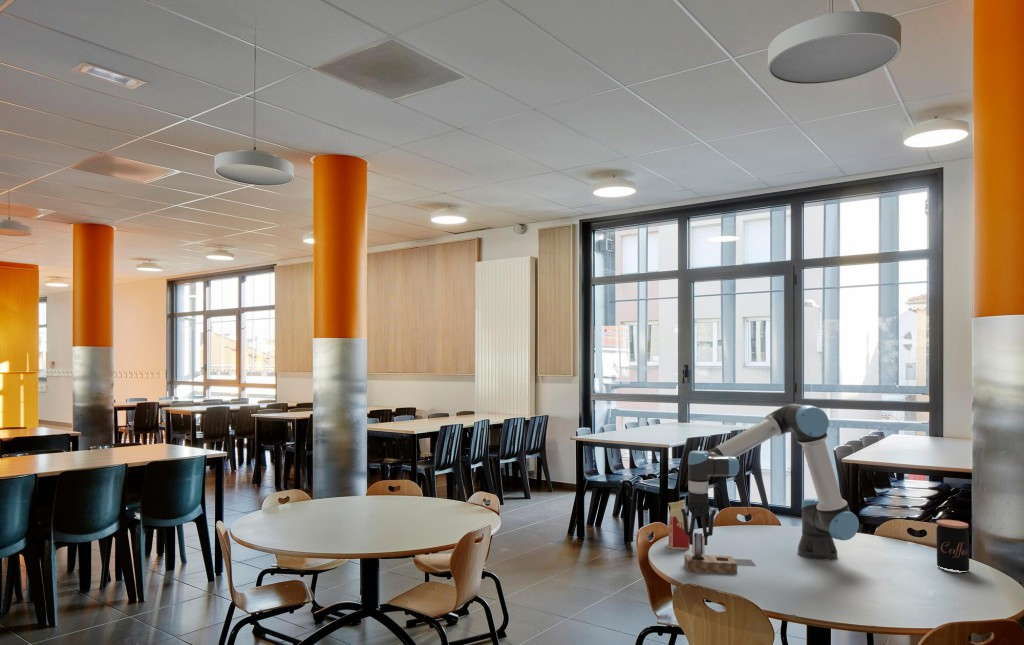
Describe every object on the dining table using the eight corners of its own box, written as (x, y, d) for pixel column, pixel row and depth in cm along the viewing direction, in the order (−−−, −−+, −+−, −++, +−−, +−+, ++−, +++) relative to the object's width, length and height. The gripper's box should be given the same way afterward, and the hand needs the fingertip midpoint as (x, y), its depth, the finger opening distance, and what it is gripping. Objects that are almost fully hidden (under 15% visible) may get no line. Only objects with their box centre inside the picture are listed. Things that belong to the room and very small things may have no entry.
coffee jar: (938, 570, 268) (937, 523, 269) (936, 563, 277) (935, 518, 278) (971, 575, 263) (970, 527, 264) (967, 568, 272) (966, 521, 273)
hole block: (731, 566, 270) (731, 556, 270) (737, 574, 260) (737, 563, 260) (684, 564, 272) (684, 554, 272) (688, 572, 262) (688, 561, 262)
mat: (751, 560, 278) (751, 559, 278) (756, 567, 269) (756, 566, 269) (728, 559, 279) (728, 558, 279) (732, 566, 270) (732, 565, 270)
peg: (701, 564, 267) (701, 532, 268) (702, 566, 264) (702, 534, 265) (693, 563, 268) (693, 532, 268) (694, 566, 265) (694, 534, 265)
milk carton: (687, 544, 301) (687, 497, 302) (690, 550, 292) (690, 502, 293) (666, 543, 302) (666, 497, 303) (668, 549, 293) (669, 501, 294)
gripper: (717, 490, 270) (717, 551, 269) (675, 489, 272) (675, 549, 271) (721, 494, 263) (721, 557, 262) (678, 492, 265) (678, 555, 263)
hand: (698, 553), depth 266 cm, fingers closed on peg, 3 cm apart
